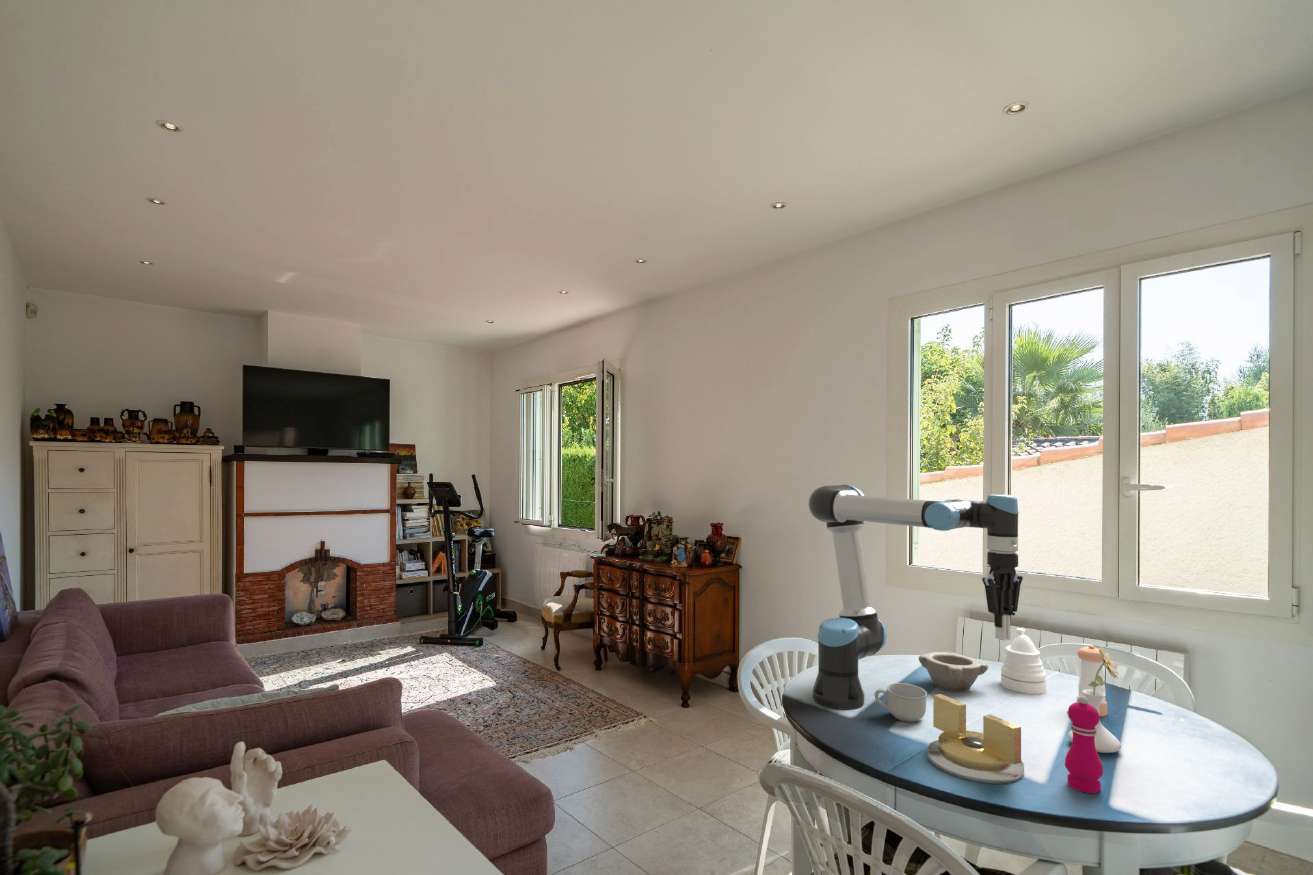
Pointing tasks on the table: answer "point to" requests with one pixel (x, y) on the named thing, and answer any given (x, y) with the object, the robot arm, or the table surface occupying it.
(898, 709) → the teacup
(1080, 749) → the pepper mill
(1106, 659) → the flower in vase
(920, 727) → the table surface
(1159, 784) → the table surface
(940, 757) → the silver round plate
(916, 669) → the table surface
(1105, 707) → the salt shaker
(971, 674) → the mortar
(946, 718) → the gold twin-plate stand
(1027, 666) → the honey pot
